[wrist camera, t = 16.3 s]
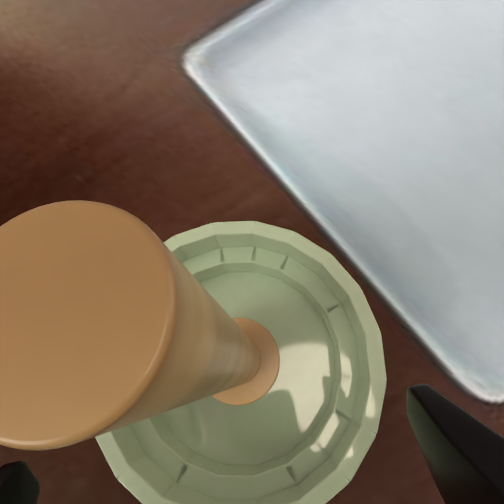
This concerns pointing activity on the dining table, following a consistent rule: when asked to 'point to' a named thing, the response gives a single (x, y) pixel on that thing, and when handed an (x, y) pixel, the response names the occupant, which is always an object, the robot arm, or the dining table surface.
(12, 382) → the tan wooden rod
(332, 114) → the dining table surface
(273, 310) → the bowl
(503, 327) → the dining table surface
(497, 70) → the dining table surface
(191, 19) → the dining table surface
